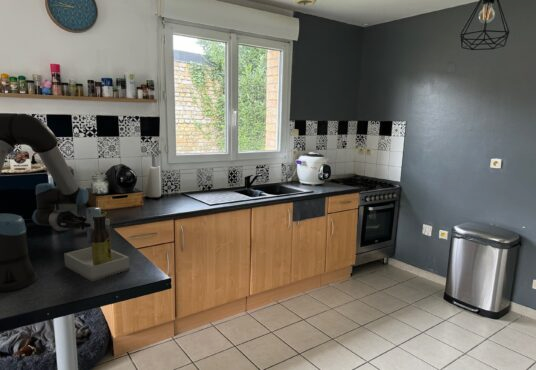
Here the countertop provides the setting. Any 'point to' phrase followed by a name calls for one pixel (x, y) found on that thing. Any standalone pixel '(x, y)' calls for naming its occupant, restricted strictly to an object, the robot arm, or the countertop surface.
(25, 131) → the robot arm
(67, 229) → the lidded jar
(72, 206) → the device
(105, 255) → the sauce bottle
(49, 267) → the countertop surface
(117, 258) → the tray
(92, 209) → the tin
